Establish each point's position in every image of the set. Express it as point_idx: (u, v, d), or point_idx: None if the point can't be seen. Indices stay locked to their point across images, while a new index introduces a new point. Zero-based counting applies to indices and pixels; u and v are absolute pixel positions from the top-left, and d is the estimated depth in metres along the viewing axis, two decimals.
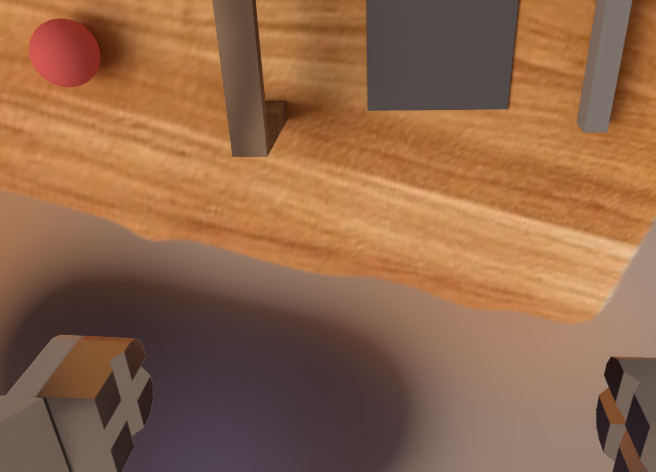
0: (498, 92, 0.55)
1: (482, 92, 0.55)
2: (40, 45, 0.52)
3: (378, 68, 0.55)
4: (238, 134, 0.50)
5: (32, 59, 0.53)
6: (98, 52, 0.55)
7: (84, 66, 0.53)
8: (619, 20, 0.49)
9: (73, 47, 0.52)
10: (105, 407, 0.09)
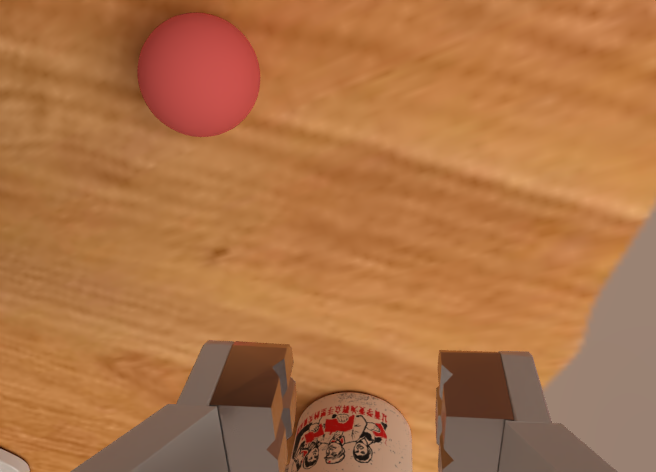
0: None
1: None
2: (197, 116, 0.28)
3: None
4: None
5: (225, 88, 0.28)
6: None
7: (139, 66, 0.28)
8: None
9: (149, 105, 0.29)
10: (276, 416, 0.09)
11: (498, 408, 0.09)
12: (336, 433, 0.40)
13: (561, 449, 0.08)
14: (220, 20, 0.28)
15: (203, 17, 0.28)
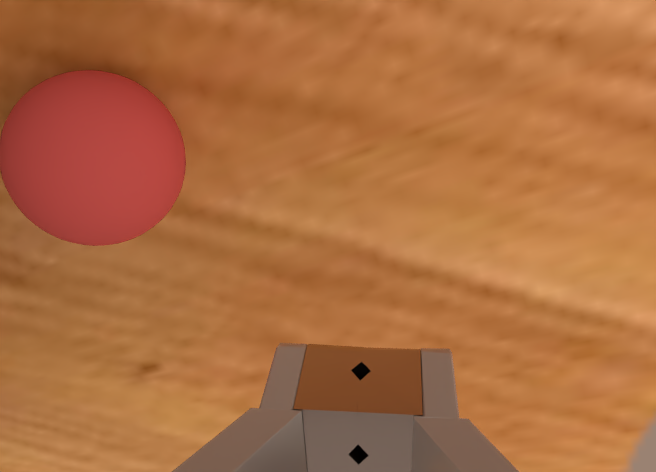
0: None
1: None
2: (84, 226, 0.19)
3: None
4: None
5: (124, 187, 0.19)
6: None
7: None
8: None
9: (17, 206, 0.20)
10: None
11: (409, 404, 0.09)
12: None
13: (462, 444, 0.08)
14: (121, 83, 0.19)
15: (93, 79, 0.19)
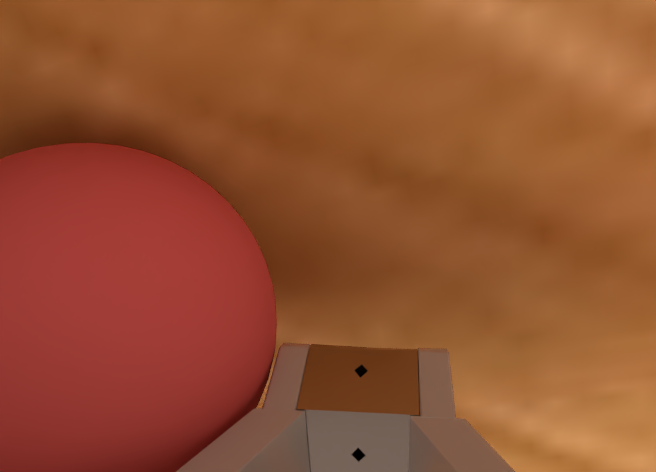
0: None
1: None
2: None
3: None
4: None
5: None
6: None
7: None
8: None
9: None
10: None
11: (406, 404, 0.09)
12: None
13: (458, 443, 0.08)
14: (75, 218, 0.08)
15: (44, 180, 0.08)
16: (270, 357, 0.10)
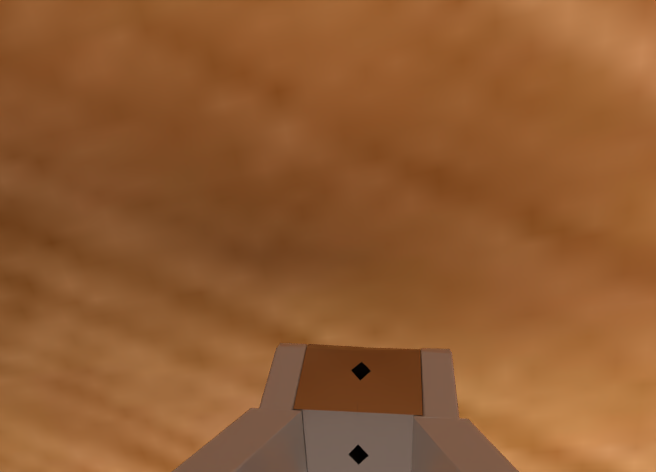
0: None
1: None
2: None
3: None
4: None
5: None
6: None
7: None
8: None
9: None
10: None
11: (409, 404, 0.09)
12: None
13: (462, 444, 0.08)
14: None
15: None
16: None
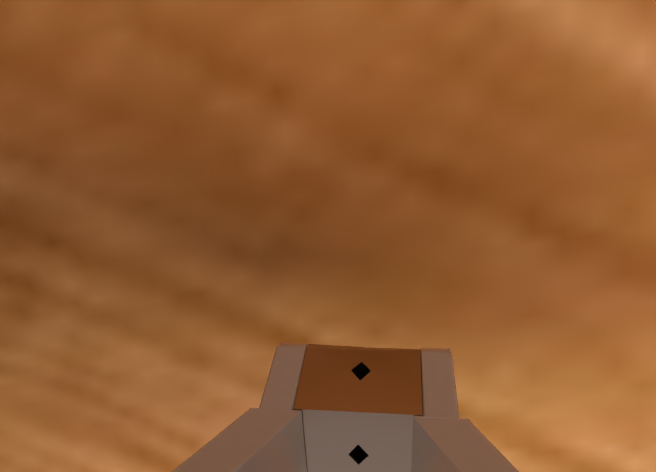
0: None
1: None
2: None
3: None
4: None
5: None
6: None
7: None
8: None
9: None
10: None
11: (409, 404, 0.09)
12: None
13: (462, 444, 0.08)
14: None
15: None
16: None
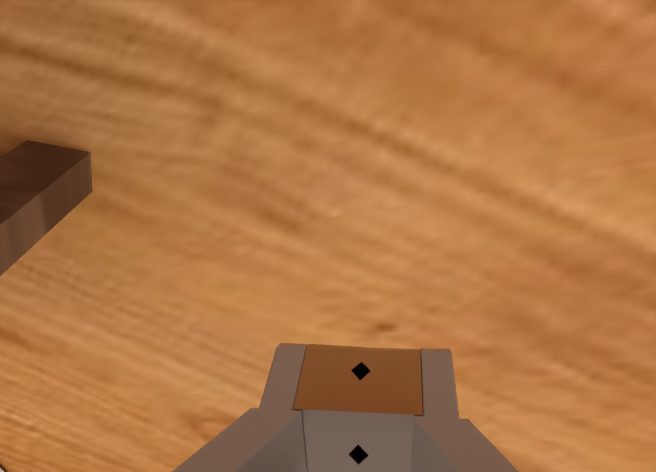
0: None
1: None
2: None
3: None
4: None
5: None
6: None
7: None
8: None
9: None
10: None
11: (409, 404, 0.09)
12: None
13: (462, 443, 0.08)
14: None
15: None
16: None
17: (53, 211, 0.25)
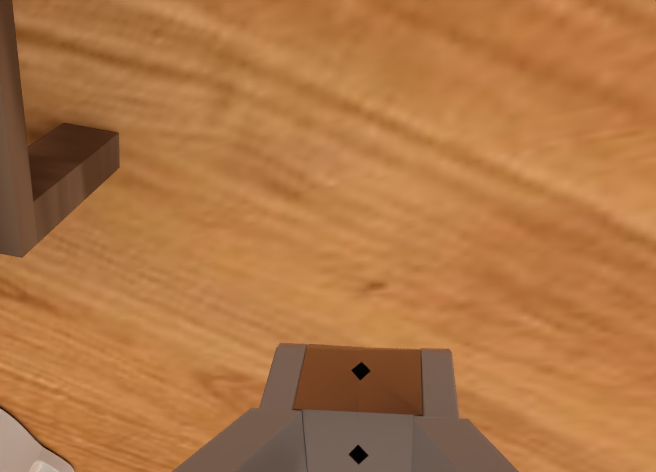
0: None
1: None
2: None
3: None
4: None
5: None
6: None
7: None
8: None
9: None
10: None
11: (409, 404, 0.09)
12: None
13: (462, 444, 0.08)
14: None
15: None
16: None
17: (90, 180, 0.30)
